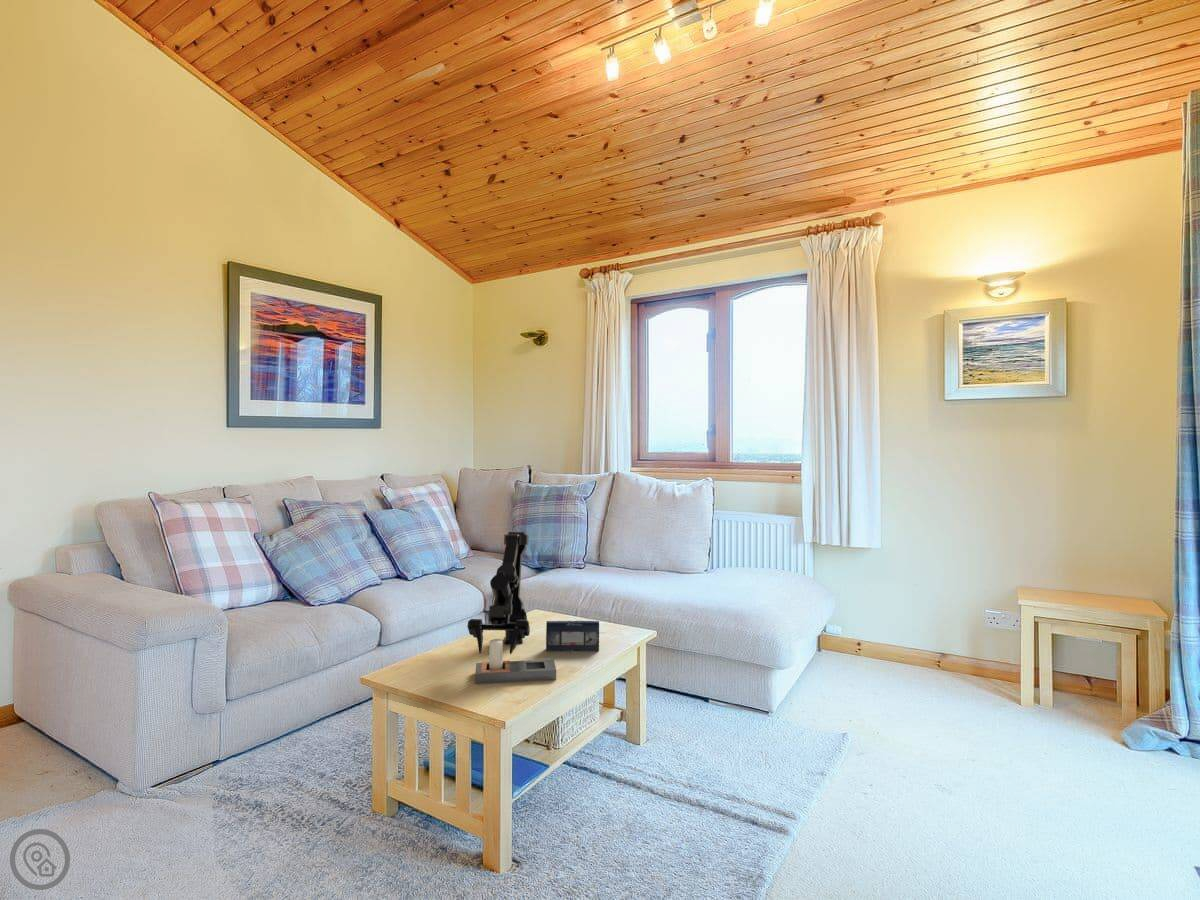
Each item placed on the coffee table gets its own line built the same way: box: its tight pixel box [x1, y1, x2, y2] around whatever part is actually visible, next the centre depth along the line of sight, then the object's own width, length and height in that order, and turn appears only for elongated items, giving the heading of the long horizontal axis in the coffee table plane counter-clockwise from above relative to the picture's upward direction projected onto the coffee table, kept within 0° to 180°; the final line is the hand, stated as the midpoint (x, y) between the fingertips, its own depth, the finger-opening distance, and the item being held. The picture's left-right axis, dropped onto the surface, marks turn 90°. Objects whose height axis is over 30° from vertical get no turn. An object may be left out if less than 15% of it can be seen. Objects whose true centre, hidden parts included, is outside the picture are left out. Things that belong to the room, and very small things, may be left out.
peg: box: [488, 638, 504, 670], centre depth 185 cm, size 4×4×11 cm
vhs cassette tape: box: [545, 620, 600, 652], centre depth 209 cm, size 18×3×10 cm, turn 91°
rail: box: [474, 658, 557, 685], centre depth 186 cm, size 9×24×3 cm, turn 99°
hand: (495, 653), depth 183 cm, fingers open, 9 cm apart
